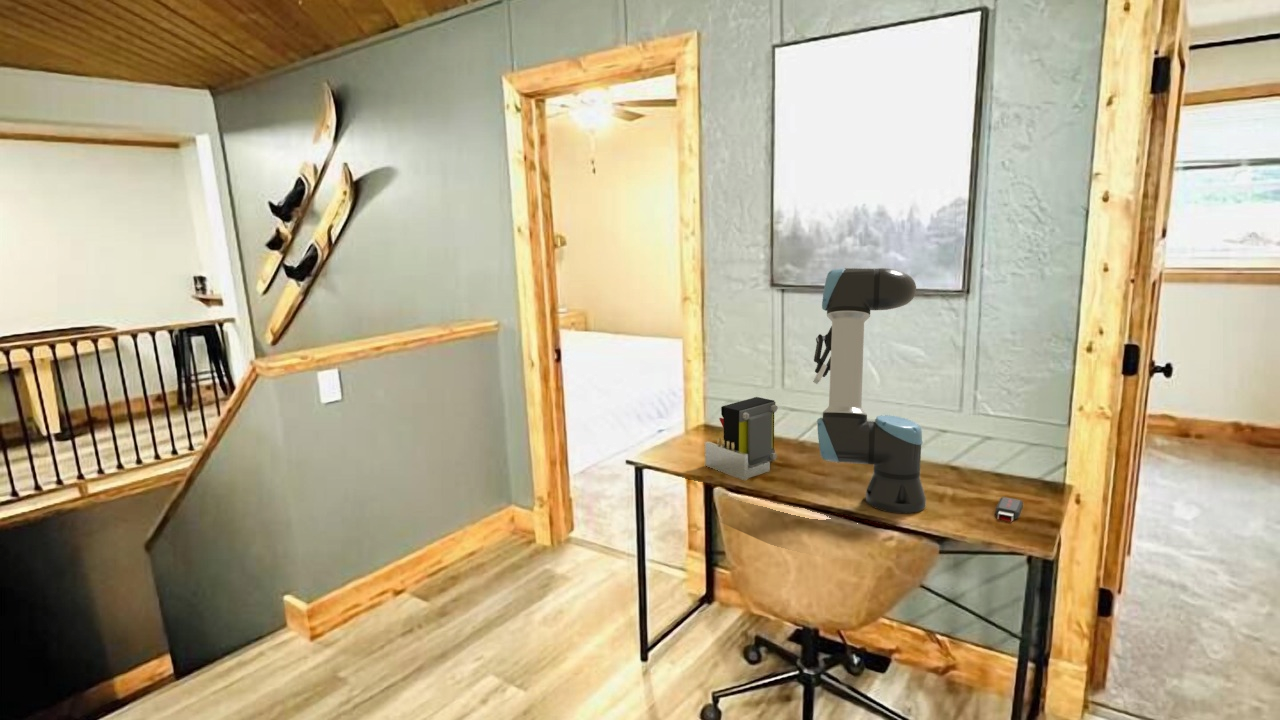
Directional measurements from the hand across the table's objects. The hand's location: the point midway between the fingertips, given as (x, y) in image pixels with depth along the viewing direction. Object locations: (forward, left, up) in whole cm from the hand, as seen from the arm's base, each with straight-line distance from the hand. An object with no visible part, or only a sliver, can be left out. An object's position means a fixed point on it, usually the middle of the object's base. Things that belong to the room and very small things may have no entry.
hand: (816, 381), depth 212 cm
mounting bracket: (+9, +27, -26) cm, 38 cm away
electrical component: (+10, +21, -26) cm, 35 cm away
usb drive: (-61, 0, -26) cm, 66 cm away
